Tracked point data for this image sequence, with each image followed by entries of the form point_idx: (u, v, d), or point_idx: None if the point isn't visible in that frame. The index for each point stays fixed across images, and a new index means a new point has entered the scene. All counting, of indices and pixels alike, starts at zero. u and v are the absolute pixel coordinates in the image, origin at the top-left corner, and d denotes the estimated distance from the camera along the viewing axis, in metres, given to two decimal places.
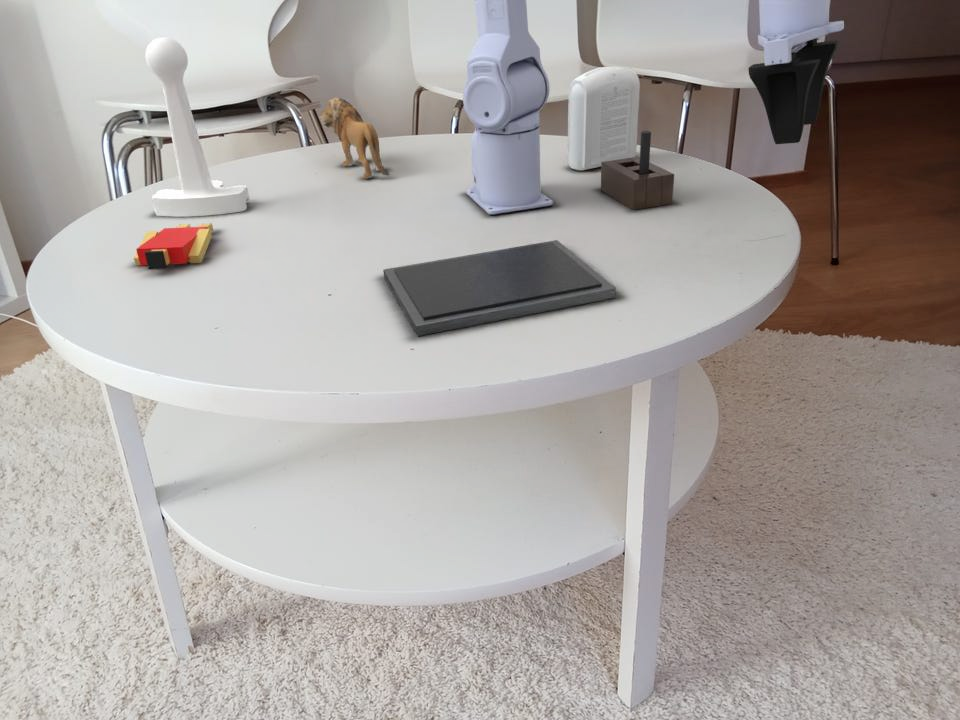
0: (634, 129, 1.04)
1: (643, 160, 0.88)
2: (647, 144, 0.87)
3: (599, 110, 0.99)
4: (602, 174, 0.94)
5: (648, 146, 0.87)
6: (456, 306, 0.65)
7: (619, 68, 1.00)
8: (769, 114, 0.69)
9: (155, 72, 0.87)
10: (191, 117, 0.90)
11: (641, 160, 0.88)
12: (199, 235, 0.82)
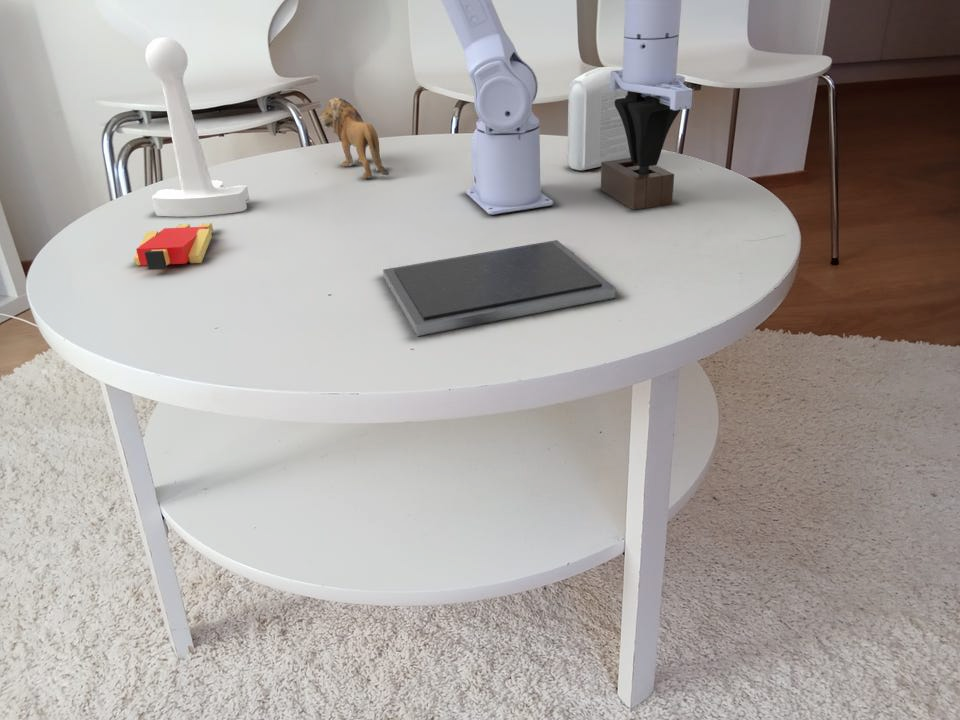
0: None
1: None
2: None
3: (599, 110, 0.99)
4: (602, 174, 0.94)
5: None
6: (456, 306, 0.65)
7: (619, 68, 1.00)
8: (642, 143, 0.86)
9: (155, 72, 0.87)
10: (191, 117, 0.90)
11: None
12: (199, 235, 0.82)
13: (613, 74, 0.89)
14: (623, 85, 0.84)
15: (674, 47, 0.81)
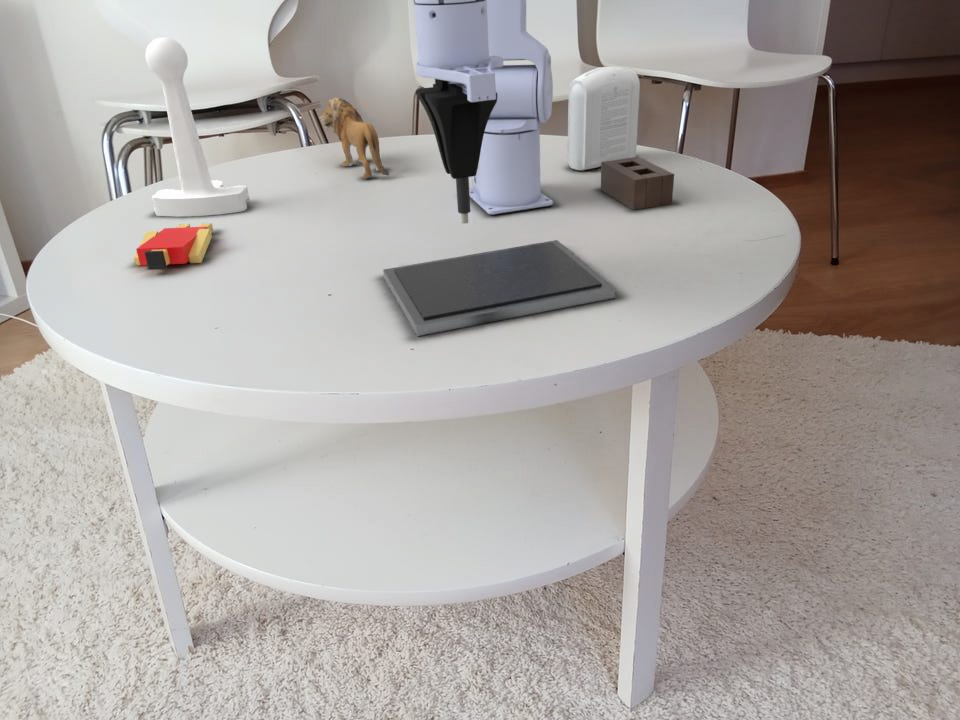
0: (634, 129, 1.04)
1: None
2: None
3: (599, 110, 0.99)
4: (602, 174, 0.94)
5: None
6: (456, 306, 0.65)
7: (619, 68, 1.00)
8: (449, 147, 0.64)
9: (155, 72, 0.87)
10: (191, 117, 0.90)
11: None
12: (199, 235, 0.82)
13: None
14: (417, 69, 0.62)
15: (477, 16, 0.59)
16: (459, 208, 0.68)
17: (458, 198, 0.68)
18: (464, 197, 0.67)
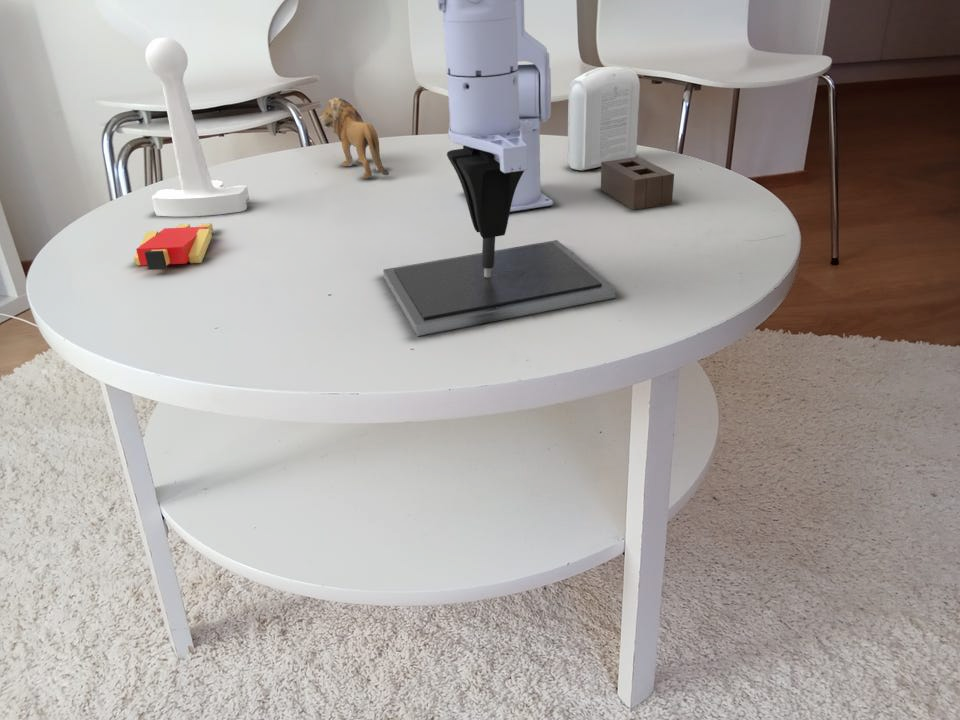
0: (634, 129, 1.04)
1: None
2: None
3: (599, 110, 0.99)
4: (602, 174, 0.94)
5: None
6: (456, 306, 0.65)
7: (619, 68, 1.00)
8: (479, 209, 0.66)
9: (155, 72, 0.87)
10: (191, 117, 0.90)
11: None
12: (199, 235, 0.82)
13: None
14: (450, 135, 0.63)
15: (509, 87, 0.61)
16: (483, 263, 0.69)
17: (483, 253, 0.69)
18: (489, 253, 0.69)
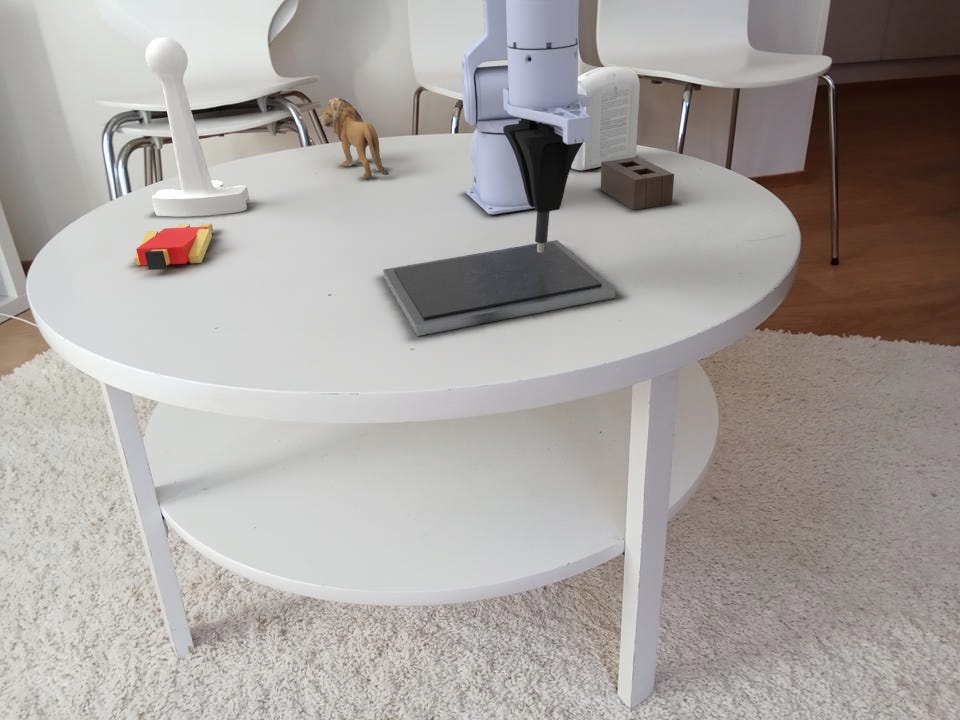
0: (634, 129, 1.04)
1: None
2: None
3: (599, 110, 0.99)
4: (602, 174, 0.94)
5: None
6: (456, 306, 0.65)
7: (619, 68, 1.00)
8: (536, 183, 0.66)
9: (155, 72, 0.87)
10: (191, 117, 0.90)
11: None
12: (199, 235, 0.82)
13: (505, 92, 0.70)
14: (509, 109, 0.64)
15: (571, 60, 0.61)
16: (537, 237, 0.70)
17: (537, 228, 0.70)
18: (543, 227, 0.69)
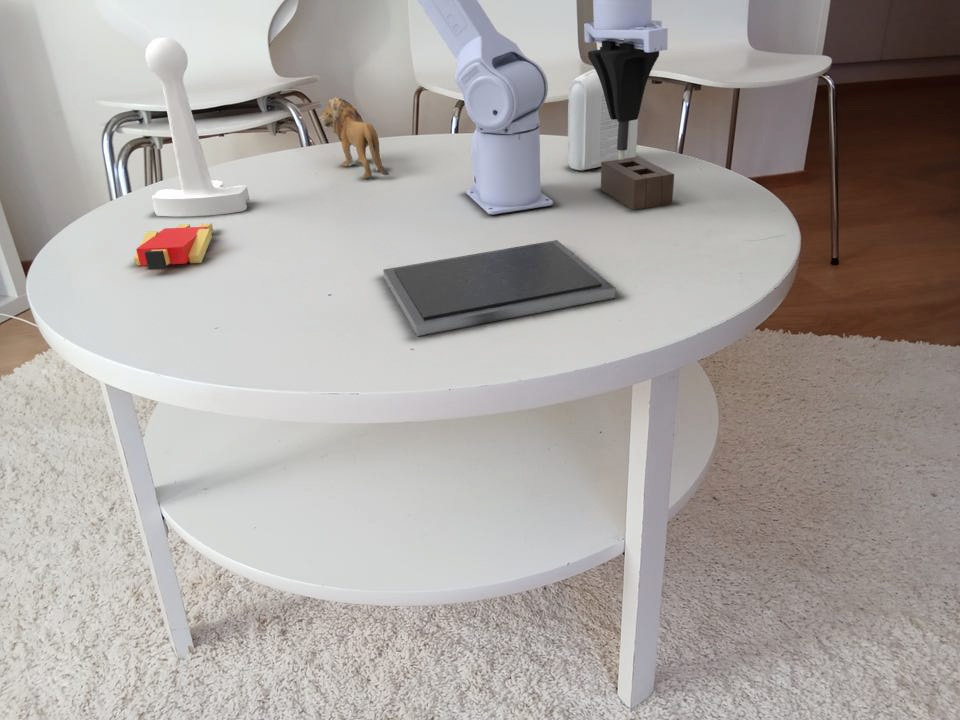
0: (634, 129, 1.04)
1: None
2: None
3: (599, 110, 0.99)
4: (602, 174, 0.94)
5: None
6: (456, 306, 0.65)
7: None
8: (619, 95, 0.79)
9: (155, 72, 0.87)
10: (191, 117, 0.90)
11: None
12: (199, 235, 0.82)
13: (586, 26, 0.83)
14: (594, 33, 0.77)
15: None
16: (619, 146, 0.83)
17: (619, 137, 0.83)
18: (624, 136, 0.82)
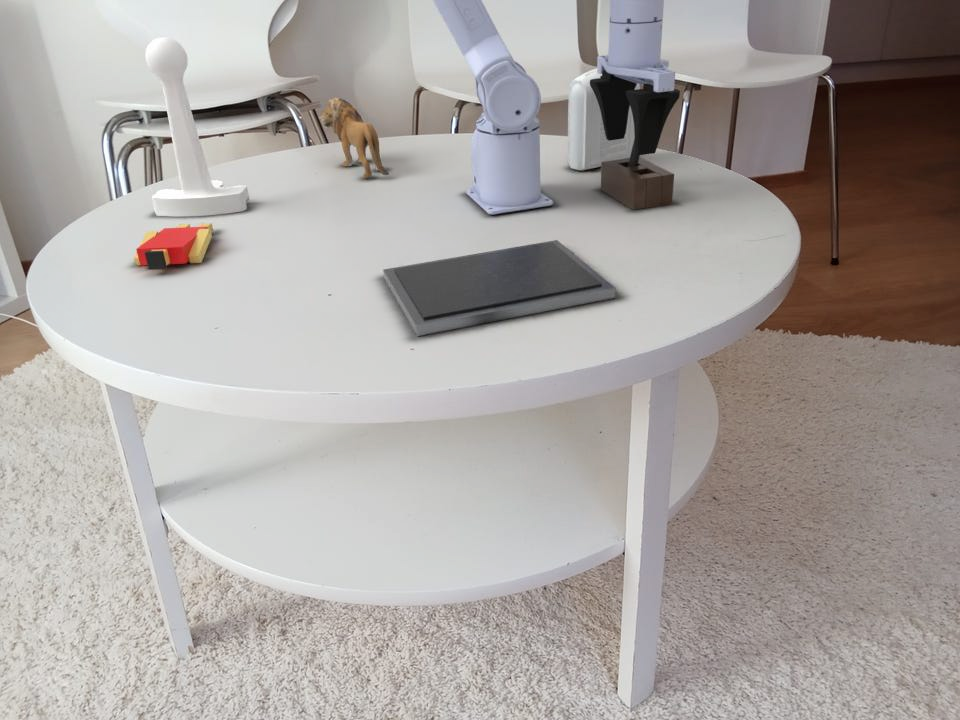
0: None
1: (634, 152, 0.91)
2: None
3: (599, 110, 0.99)
4: (602, 174, 0.94)
5: None
6: (456, 306, 0.65)
7: None
8: (640, 131, 0.85)
9: (155, 72, 0.87)
10: (191, 117, 0.90)
11: (632, 152, 0.91)
12: (199, 235, 0.82)
13: (600, 59, 0.92)
14: (609, 69, 0.86)
15: (658, 31, 0.83)
16: None
17: None
18: None
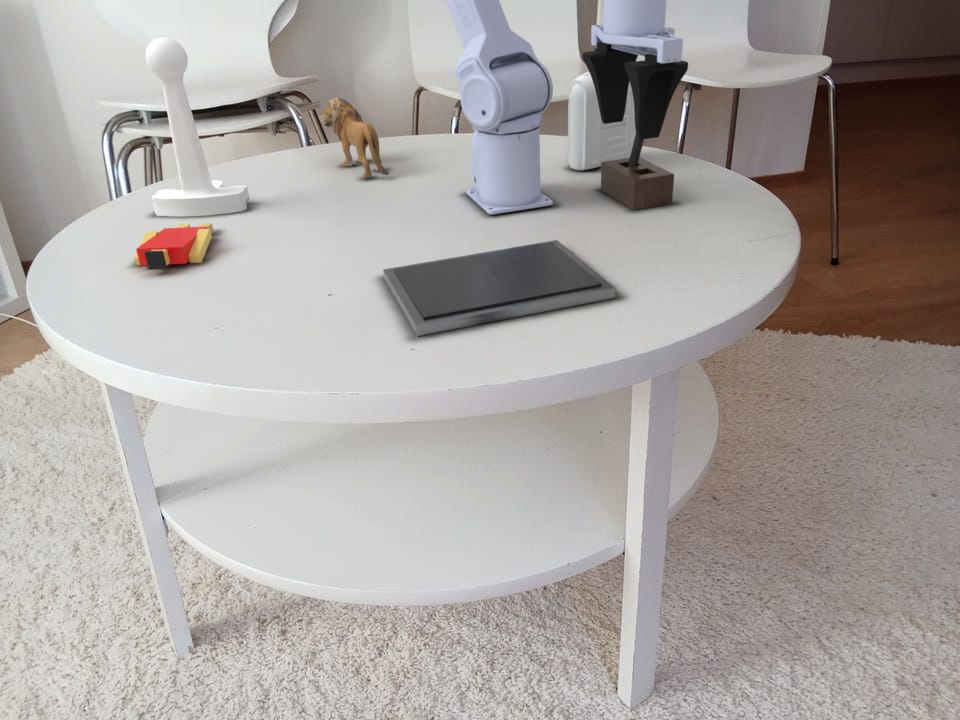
0: (634, 129, 1.04)
1: (634, 152, 0.91)
2: None
3: (599, 110, 0.99)
4: (602, 174, 0.94)
5: (642, 139, 0.90)
6: (456, 306, 0.65)
7: None
8: (641, 111, 0.73)
9: (155, 72, 0.87)
10: (191, 117, 0.90)
11: (632, 152, 0.91)
12: (199, 235, 0.82)
13: (594, 28, 0.79)
14: (604, 37, 0.73)
15: None
16: None
17: None
18: None
